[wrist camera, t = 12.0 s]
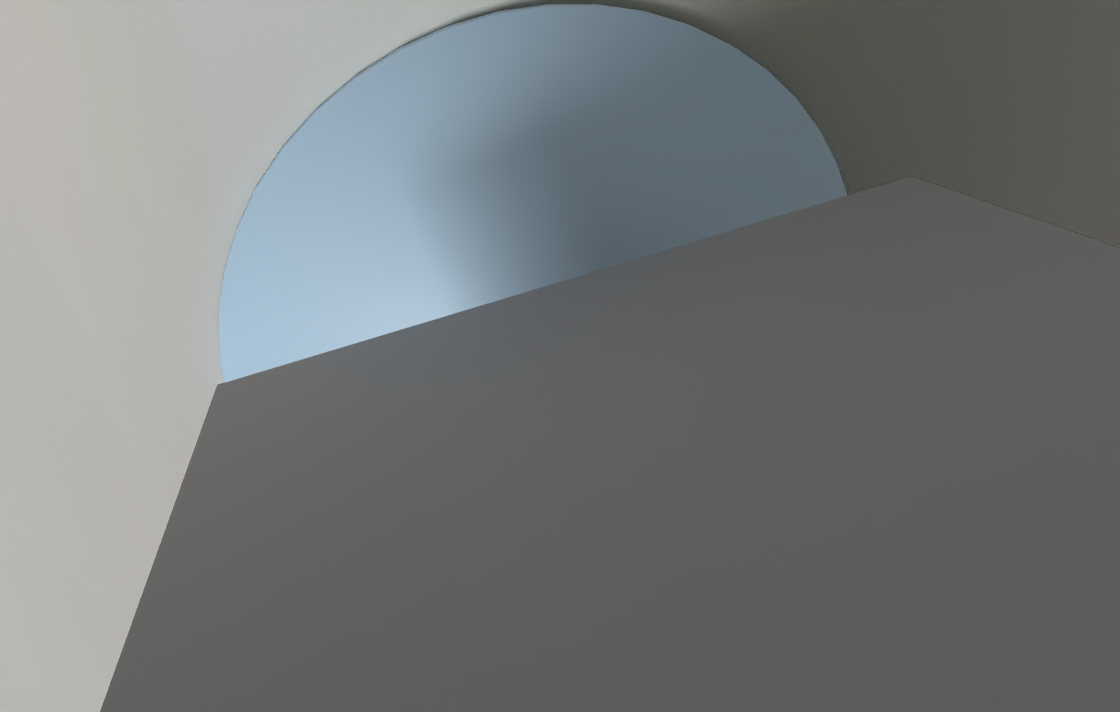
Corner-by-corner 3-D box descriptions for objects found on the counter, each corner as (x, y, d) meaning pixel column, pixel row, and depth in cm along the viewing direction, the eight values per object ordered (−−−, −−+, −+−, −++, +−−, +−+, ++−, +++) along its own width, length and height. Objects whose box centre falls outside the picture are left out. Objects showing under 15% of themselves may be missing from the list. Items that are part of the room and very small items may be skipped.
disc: (653, 611, 18) (657, 619, 17) (131, 506, 13) (129, 514, 13) (964, 182, 14) (972, 186, 14) (382, -160, 10) (383, -158, 9)
